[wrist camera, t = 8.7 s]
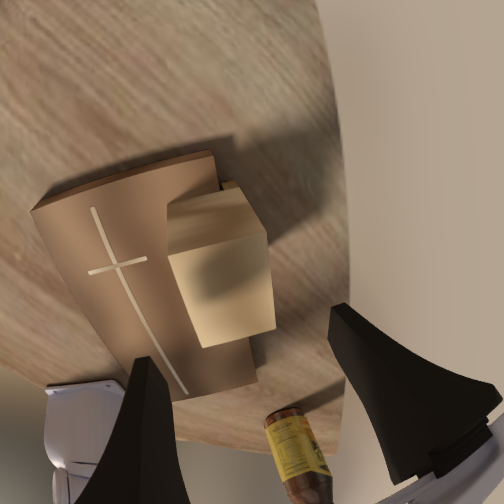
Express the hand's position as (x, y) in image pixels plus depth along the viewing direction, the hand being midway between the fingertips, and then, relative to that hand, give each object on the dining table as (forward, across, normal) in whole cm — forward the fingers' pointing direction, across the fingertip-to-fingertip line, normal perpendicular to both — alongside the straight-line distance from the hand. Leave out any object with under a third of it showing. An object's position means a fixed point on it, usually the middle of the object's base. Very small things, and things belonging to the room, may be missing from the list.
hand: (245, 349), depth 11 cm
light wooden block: (+9, 0, 0) cm, 9 cm away
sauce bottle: (+10, -3, +32) cm, 33 cm away
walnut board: (+9, +5, +6) cm, 12 cm away
